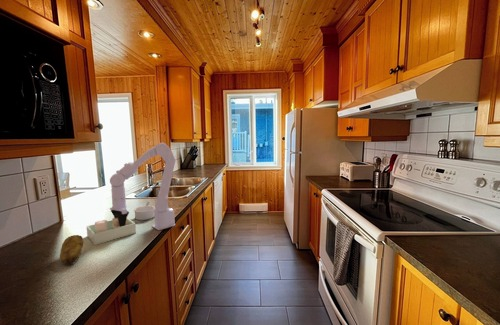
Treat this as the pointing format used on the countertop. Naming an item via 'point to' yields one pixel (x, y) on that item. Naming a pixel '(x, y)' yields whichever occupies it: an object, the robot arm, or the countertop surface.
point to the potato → (71, 249)
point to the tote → (110, 232)
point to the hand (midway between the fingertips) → (120, 224)
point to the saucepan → (144, 212)
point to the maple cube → (117, 223)
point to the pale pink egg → (101, 226)
